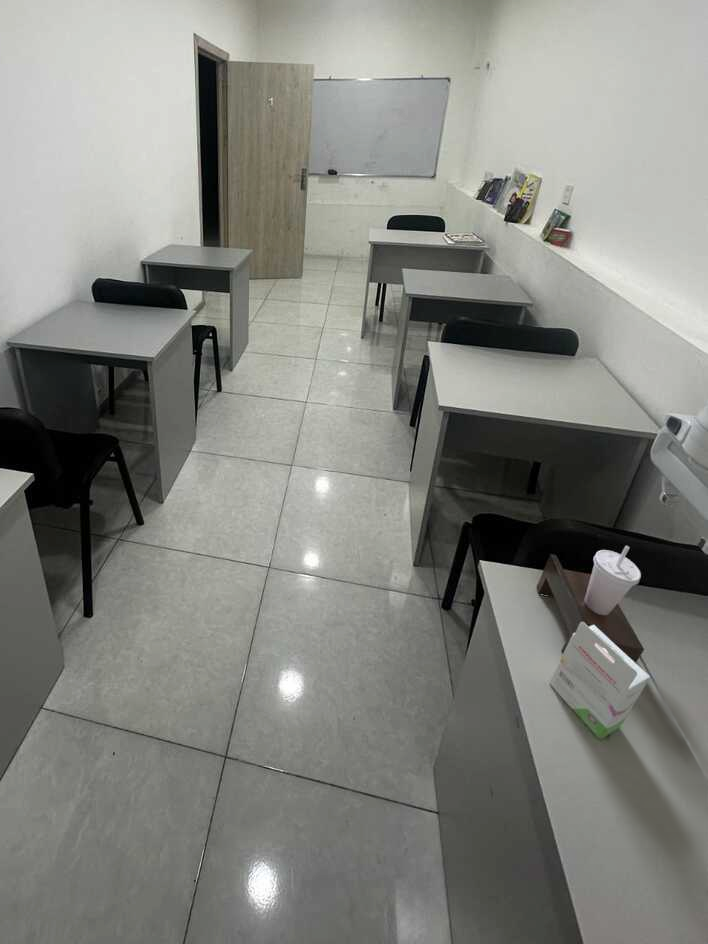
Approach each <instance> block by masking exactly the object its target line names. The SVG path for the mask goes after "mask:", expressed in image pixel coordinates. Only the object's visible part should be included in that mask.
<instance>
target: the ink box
mask: <svg viewBox="0 0 708 944" xmlns="http://www.w3.org/2000/svg"><path fill="white" fill-rule="evenodd" d="M650 678H651V676H650V675H649V674H648V673H647V672H646V671H645V670H644V669H642V668H641V667H640V666H639V664H637V662H636V663H635V662H634V661H633V660H632V659H630V658H629V657H628V656H627V655H626V654H625V653H624V652H623V651H622V650H621V649H620V648H618V647H617V646H616V645H615V644H614V643H613V642H612V641H611V640H610V639H609V638H608V637H607V636H606V635H604V634H603V633H602V632H601V631H600V630H599V629H598V628H597V627H596V626H595V625H592V626H589V627H588V626H587V625H586V624H585V623H584V622H581V623H580V624H579V626H578V628H577V630H576V632H575V633H573V635H572V637H571V639H570V641H569V643H568V645H567V647H566V649H565V651H564V653H563V654H562V656H561V657H560V660H559V662H558V664H557V665H556V667H555V670H554V672H553V673H552V676H551V678H550V680H549V685H550V686H551V687H552V688H553V690H554V691H555V692H556V693H557V694H558V695H559V696H560V697H561V698H562V699H563V700H564V702H565V703H566V704H567V705H568V706H569V707H570V708H571V710H572V711H573V712H574V713H575V714H576V715H577V716H578V717H579V719H580V720H581V721H582V722H583V723H584V725H586V726H587V728H588V729H589V730H590V731H591V732H592V733H593V734H594V736H596V738H597V739H598V740H600V741H601V740H602V739H604V738H605V737H607V736H608V735H610V734H611V733H613V732H614V731H616V730H617V729H619V728H621V726H622V724H623V723H624V721H625V720H626V718H627V717H628V715H629V714H630V712H631V710H632V708H633V707H634V705H635V703H636V702H637V700H638V699H639V697H640V696H641V693H643V690H644V688H645V687H646V685H647V684H648V682H649V680H650Z"/></svg>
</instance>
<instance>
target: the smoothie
mask: <svg viewBox="0 0 708 944" xmlns="http://www.w3.org/2000/svg"><path fill="white" fill-rule="evenodd" d="M629 550H630V546H628V545H625V546H624V548H623V549H622V551H621V553H618V552H617V551H616V552H615V551H613V550H609V549H608V550H607V549H600V550H598V551H597V552H596V553H595V555H594V556H593V559H592V560H593V567H592V570H591V578H590V581H589V585H588V589H587V592H586V596H585V603H586V605H587V606H588V607H589V608H590V609H591V610H592V611H594V612H596V613H598V614H600V615H608V614H609V613H610V612H611V610H612V609H613V608H614V607H615V606H616V605H617V603H618V604H619V602H620V601H622V599H623V598H624V597H625V595H626V594H627V593H628V592H629V591H630V590H631V589H632V587H633V586H636V585H638V584H639V583H640V580H641V577H642V572H641V570H640V569H639V567H637V564H635V563H634V562H633V561H631V559H629V558H628V557H626V556H627V553H628V552H629Z"/></svg>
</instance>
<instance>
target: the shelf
mask: <svg viewBox="0 0 708 944" xmlns="http://www.w3.org/2000/svg"><path fill="white" fill-rule="evenodd" d="M591 574H592V573H591ZM591 574H590V573H585V572H580V571H574V570H569V569H564V568H563V566H562V563H561V562H560V559H559V558H558V556H557V555H556V554H552V553H551V554H549V557H548V559H547V561H546V564H545V566H544V568H543V570H542V573H541V575H540V578H539V580H538V583H537V584H536V587H535V589H536V588H537V590H538V592H537V594H538V593H539V594H543V595H548V596H552V597H551V598H553V597H555V598H554V599H555V603H556V604H557V606H558V609H559V611H560V613H561V616H562V618H563V620H564V622H565V624H566V627H567V630H568V631H569V634H568V637H567V638H566V640H565V642H564V645H563V646H562V648H561V650H560V651H561V653H562V655H563V653H564V651H565V649H566V647H567V645H568V643H569V641H570V639H571V637H572V635H573V633H575V632H576V630H577V628H578V626H579V624H580V623H581V622H584V623H585V624H586V625H587V626H588V627H589V626H592V625H595V626H596V627H597V628H598V629H599V630H600V631H601V632H602V633H603V634H604V635H606V636H607V637H608V638H609V639H610V640H611V641H612V642H613V643H614V644H615V645H616V646H617V647H618V648H620V649H621V650H622V651H623V652H624V653H625V654H626V655H627V656H628V657H629V658H630V659H632V660H633V661H634V662H635V663H636V664H637V662H638V661H639V658H640V657H641V655H642V654H643V653H644V650H645V648H644V646H643V645H642V643H641V641H640V640H639V638H638V636H637V634H636V633H635V631H634V628H633V627H632V626H631V624H630V622H629V620H628V618H627V617H626V615H625V613H624V611H623V609H622V608H621V606H620V604H619V602H618V603H617V605H616V606H615V607H614V608H613V609H612V610H611V612H610V613H609V614H608V615H600V614H598V613H596V612H594V611H592V610H591V609H590V608H589V607H588V606H587V605H586V603H585V596H586V592H587V589H588V585H589V581H590V578H591ZM537 590H536V591H537ZM543 595H542V596H543ZM548 596H547V597H548Z"/></svg>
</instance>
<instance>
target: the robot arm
mask: <svg viewBox="0 0 708 944" xmlns="http://www.w3.org/2000/svg"><path fill="white" fill-rule="evenodd" d="M662 424H663V427H662V428H661V429H660V430H659V431H658V432H657V434H656V437H655V439H654V441H653V443H652V446H651V448H650V461H651V462H652V464H654V465H655V466H656V468H657V469H658V470H659V471H660V472H661V473H662V476H661V491H662V492H661V493H660V496H659V498H658V500H659V502H661V504H662V505H663V506H664V507H665V508H671V509H676V508H678V504H680V502H681V498H680V497H679V492H680V493H681V494H682V496H684V498H685V499H686V500H687V501H688V503H690V504H691V505H692V506H693V507H694V509H695V510H696V511H697V512H698V513H699V514H700V515H701V517H703V518H704V519H705V521H707V522H708V399H707V400H706V403H705V405H704V406H703V407H702V408H701V409H700V410H699V411H698V412H697V413H696V415H690V414H684V413H683V414H682V413H671V412H669V413H668V412H667V413H666V414H665V416H664V418H663V421H662ZM697 546H698V547H699V548H700V549H701V551H702V552H703V553H704V554H705V555H708V536H703V535H702V536H701V537H700V538H699V541H698V543H697Z"/></svg>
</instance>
